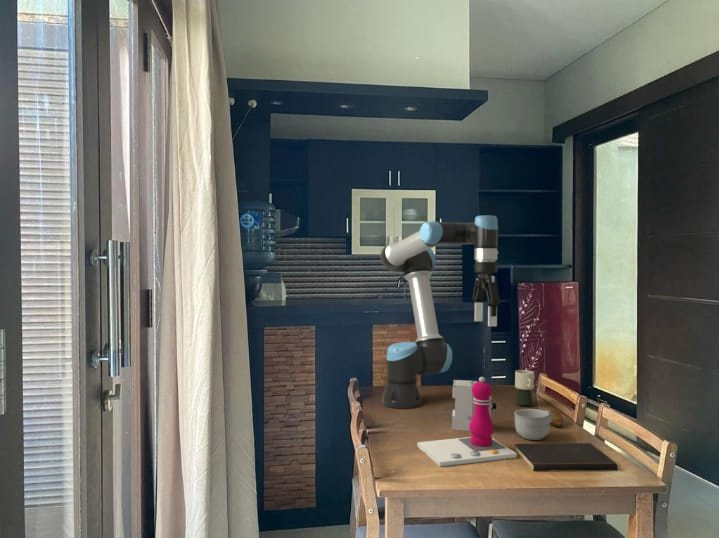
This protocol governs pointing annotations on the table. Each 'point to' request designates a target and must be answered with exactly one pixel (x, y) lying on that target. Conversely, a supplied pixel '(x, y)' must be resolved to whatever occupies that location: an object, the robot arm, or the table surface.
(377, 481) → the table surface
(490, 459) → the board
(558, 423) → the croissant
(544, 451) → the hardcover book
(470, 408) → the circuit breaker
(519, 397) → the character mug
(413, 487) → the table surface
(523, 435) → the teacup
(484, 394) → the pepper mill
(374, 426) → the table surface
